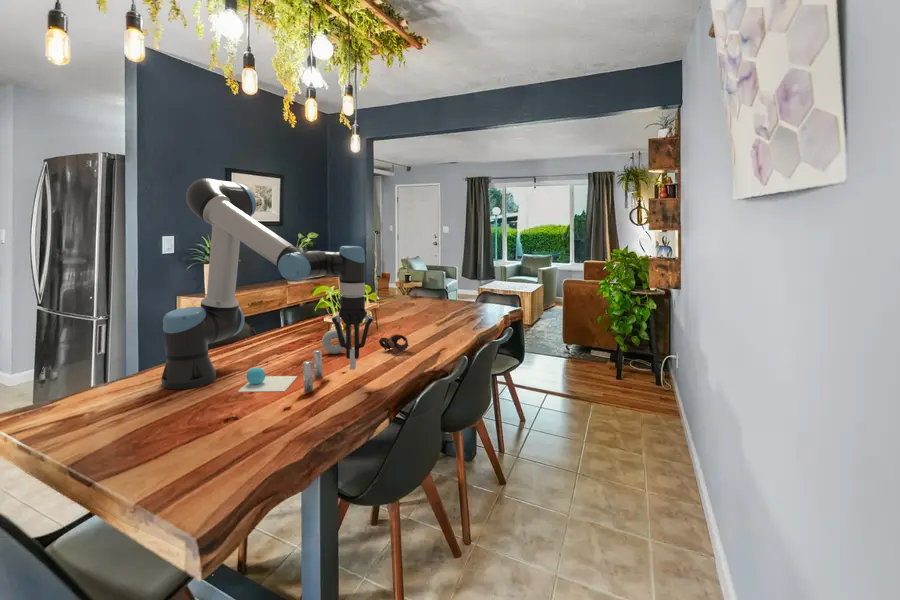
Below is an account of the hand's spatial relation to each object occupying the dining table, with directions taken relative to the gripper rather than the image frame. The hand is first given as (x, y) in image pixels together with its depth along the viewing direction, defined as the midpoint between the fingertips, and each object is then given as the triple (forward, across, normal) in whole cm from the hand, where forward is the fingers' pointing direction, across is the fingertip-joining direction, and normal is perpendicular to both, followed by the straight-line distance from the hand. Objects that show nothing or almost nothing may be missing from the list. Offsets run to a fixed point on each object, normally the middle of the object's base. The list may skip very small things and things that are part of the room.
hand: (352, 368), depth 141 cm
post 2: (+5, +12, -6) cm, 15 cm away
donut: (+6, +12, -35) cm, 37 cm away
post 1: (+5, +12, +6) cm, 15 cm away
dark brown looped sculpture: (+5, -11, -37) cm, 39 cm away
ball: (+3, +30, 0) cm, 31 cm away
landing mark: (+5, +26, 0) cm, 27 cm away
